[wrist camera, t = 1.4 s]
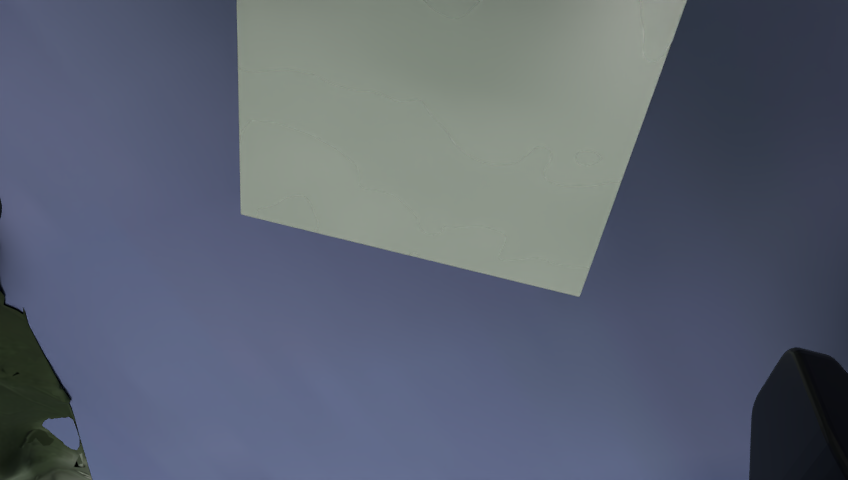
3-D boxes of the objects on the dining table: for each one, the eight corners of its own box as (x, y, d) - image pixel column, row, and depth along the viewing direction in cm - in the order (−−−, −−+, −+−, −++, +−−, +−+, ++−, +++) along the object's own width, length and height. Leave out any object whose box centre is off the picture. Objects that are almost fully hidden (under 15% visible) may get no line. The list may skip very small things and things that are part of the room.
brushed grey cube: (685, -167, 14) (708, -59, 9) (594, 121, 18) (579, 296, 13) (361, -230, 15) (233, -158, 10) (340, 63, 18) (241, 214, 14)
